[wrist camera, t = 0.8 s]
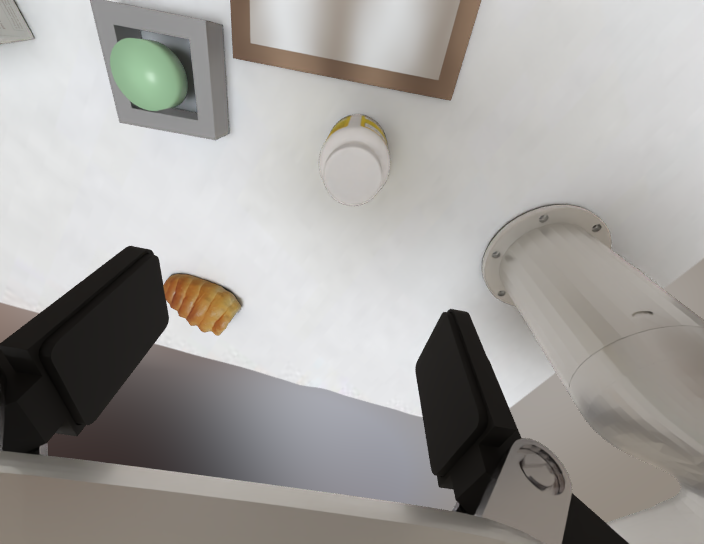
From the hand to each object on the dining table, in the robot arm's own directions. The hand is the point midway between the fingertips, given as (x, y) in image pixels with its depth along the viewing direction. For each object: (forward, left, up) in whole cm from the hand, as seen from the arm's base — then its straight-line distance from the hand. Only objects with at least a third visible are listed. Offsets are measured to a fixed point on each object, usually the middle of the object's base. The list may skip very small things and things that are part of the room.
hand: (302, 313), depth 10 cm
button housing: (+15, -4, -22) cm, 27 cm away
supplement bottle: (-1, -1, -23) cm, 23 cm away
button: (+15, -4, -19) cm, 25 cm away
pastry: (+15, +21, -23) cm, 35 cm away
